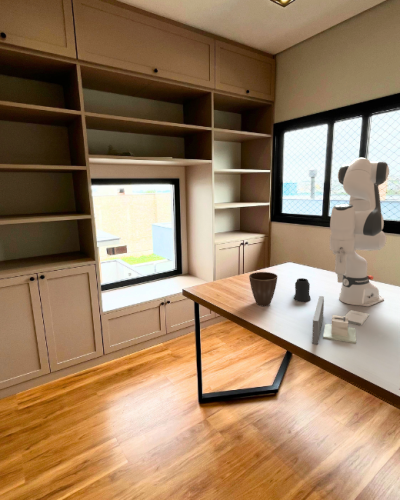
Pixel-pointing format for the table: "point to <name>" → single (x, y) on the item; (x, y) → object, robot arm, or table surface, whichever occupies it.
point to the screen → (318, 320)
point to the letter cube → (339, 325)
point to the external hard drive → (356, 317)
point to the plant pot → (263, 287)
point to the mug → (302, 290)
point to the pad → (349, 338)
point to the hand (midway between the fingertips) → (340, 278)
